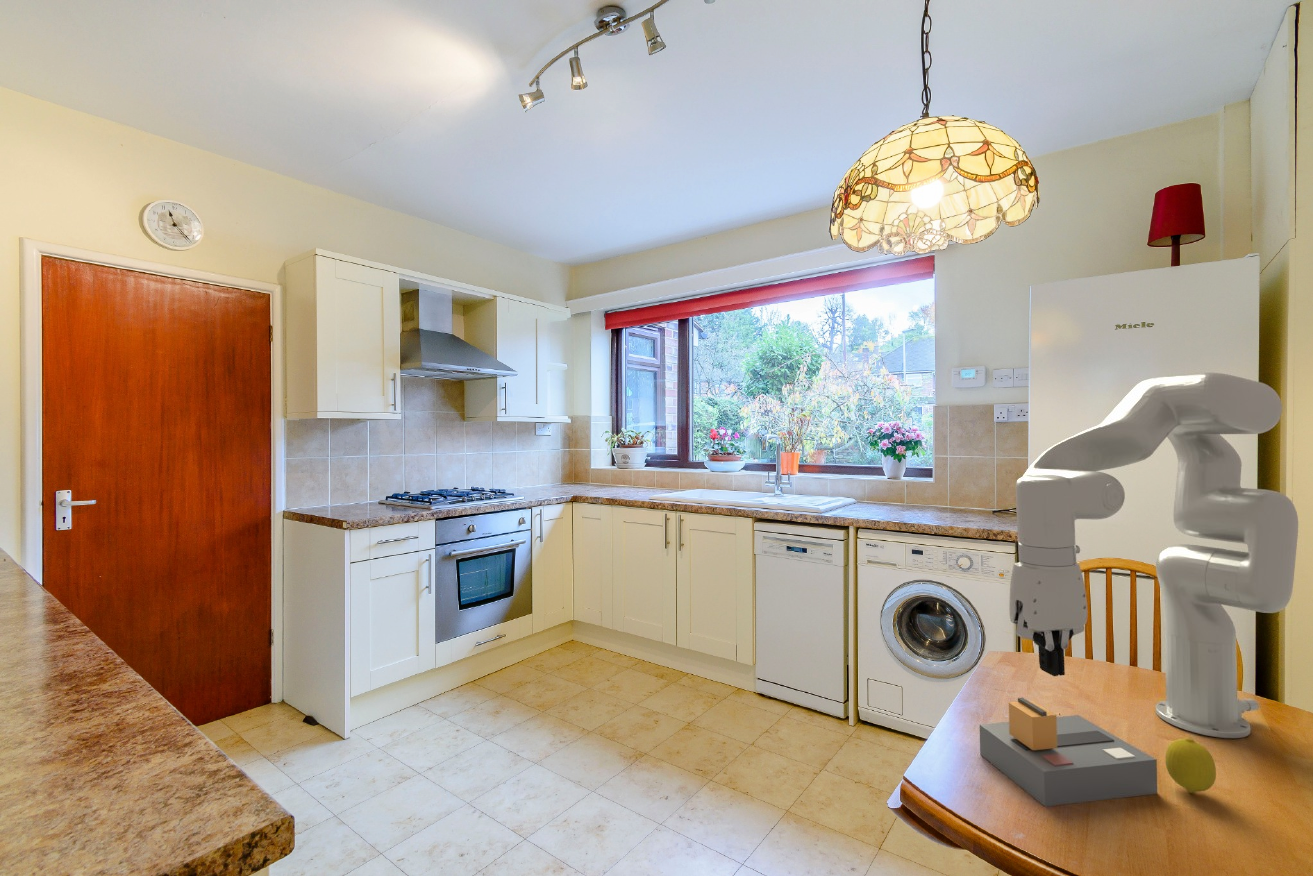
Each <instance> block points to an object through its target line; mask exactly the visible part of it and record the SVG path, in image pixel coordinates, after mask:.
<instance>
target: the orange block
mask: <svg viewBox="0 0 1313 876" xmlns="http://www.w3.org/2000/svg"><path fill="white" fill-rule="evenodd" d="M1057 717H1058V716H1057V714H1056V713H1054V712H1053V711H1051V710H1048V709H1047V708H1045V707H1044V706H1042V705H1040V704H1039V703H1037V702H1036V701H1034V700H1031V699H1030V700H1027V699H1026V698H1025V697H1022V696H1021V697H1017V701H1011V702H1008V720H1009V721H1008V722H1009V734H1010V735H1012V736H1013V737H1015V738H1016V739H1017V740H1019V741H1020V742H1022V743H1023V744H1025V745H1026V746H1027V747H1029V748H1030V749H1032V750H1041V749H1051V748H1057Z"/></svg>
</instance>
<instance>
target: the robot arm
mask: <svg viewBox="0 0 1313 876" xmlns="http://www.w3.org/2000/svg"><path fill="white" fill-rule="evenodd" d="M1282 413H1283V405H1282V401H1281V397H1280V396H1279V395H1278V393H1277V392H1276V390H1274V389H1273V387H1271V386H1269V384H1266V383H1264V382H1261V381H1256V380H1251V379H1249V378H1248V379H1247V378H1243V377H1239V376H1236V375H1231V374H1225V373H1219V372H1201V373H1198V372H1197V373H1189V374H1175V375H1163V376H1156V377H1151V378H1148V379H1144V380H1142V381H1140V382H1138V383H1137V384H1136V385H1135V386H1133V388H1132V389H1131V390H1130V391H1129V392H1128V393H1127V394H1126V395H1125V396H1124V398H1123V399H1121V401H1120V402H1119V403H1118V404H1117V405H1116V406H1115V407H1114V409H1112V411H1111V412H1109V414H1108V415H1107V416H1106V417H1105V418H1104V419H1103V420H1102V421H1101V423H1099V424H1098V425H1095V426H1093V427H1091V428H1089V429H1088V428H1087V429H1086V430H1084V431H1081V432H1079V433H1077V434H1075V435H1073V436H1070V437H1069V438H1066V439H1064V440H1062V441H1060V442H1058V443H1056V444H1053V446H1051V447H1049V448H1048V449H1047V450H1045V451H1044V452H1042V453H1041V454H1040V455H1039V456H1038V457H1037V458H1036V459H1035V461H1034V462H1033V463H1032V464H1031V465H1030V466H1029V467H1028V469H1026V471H1025V473H1023V475H1022V477H1020V478H1018V479H1017V481H1016V483H1015V506H1016V511H1015V512H1016V525H1017V526H1016V527H1017V528H1016V530H1017V531H1016V532H1017V546H1018V547H1017V549H1018V551H1017V553H1018V562H1014V563H1013V568H1012V570H1011V578H1010V585H1009V600H1008V601H1009V604H1008V605H1009V619H1010V622H1011V623H1012V624H1015V625H1016V630H1015V634H1016V636H1018V637H1020V638H1021V639H1024V640H1031V641H1033V643H1034V644H1035V646H1036V645H1037V647H1038V662H1039V669H1040V670H1041V671H1043V672H1045V673H1046V674H1049V675H1051V676H1052V677H1059V676H1061V677H1062V676H1065V674H1066V672H1065V665H1066V664H1065V650H1067V649H1068V647H1069V642H1070V640H1071V639H1072V637H1073V636H1076V635H1078V634H1081V633H1083V632H1085V625H1086V624H1087V621H1088V602H1087V592H1086V587H1085V581H1084V578H1083V577H1084V576H1083V572H1082V569H1081V567H1080V564H1079V563H1078V562H1077V555H1079V554H1080V552H1081V548H1080V546H1079V545H1077V544H1076V525H1075V523H1076V520H1094V521H1095V520H1096V521H1098V520H1104V519H1108V518H1110V517H1112V516H1114V515H1116V514H1117V513H1118V512H1119V511H1120V510H1121V508H1122V507H1123V506H1124V503H1125V499H1126V497H1125V496H1126V495H1125V494H1126V493H1125V489H1124V486H1123V485H1122V483H1121V482H1120V481H1119V480H1118V479H1117V478H1116V477H1115V476H1113V475H1112V474H1108V473H1105V472H1102V471H1105V470H1111V469H1115V468H1116V469H1117V468H1121V467H1124V466H1125V467H1126V466H1129V465H1132V464H1136V463H1140V462H1142V461H1145V460H1146V459H1148V458H1150V457H1151V456H1152V455H1153V454H1154V453H1155V451H1156V450H1157V449H1158V447H1160V445H1161V444H1162V443H1163V442H1164V441H1165V440H1166V439H1168V440H1169V442H1170V444H1171V445H1172V447H1173V449H1174V452H1175V454H1176V457H1177V473H1176V474H1177V475H1176V483H1175V493H1174V501H1173V512H1172V513H1173V514H1172V515H1173V522H1174V523H1173V524H1174V526H1175V529H1177V530H1178V531H1179V532H1180V533H1182V534H1183V535H1187V536H1190V537H1194V538H1200V539H1207V540H1213V541H1220V542H1228V543H1235V544H1243V545H1244V544H1245V545H1247V548H1248V551H1247V552H1246V551H1240V550H1232V549H1227V548H1219V547H1214V546H1213V547H1212V546H1204V545H1198V544H1175V545H1171V546H1168V547H1166V548H1165V549H1163V550H1161V552H1160V553H1159V554H1158V556H1157V559H1156V562H1155V563H1156V564H1155V567H1156V568H1155V569H1156V570H1155V571H1156V577H1157V580H1158V585H1159V588H1160V592H1161V597H1162V602H1163V603H1162V604H1163V616H1164V652H1165V654H1164V655H1165V656H1164V657H1165V658H1164V659H1165V697H1166V698H1165V700H1161V701H1159V702H1157V703H1155V713H1156V715H1157V716H1159V718H1160V719H1162V720H1163V721H1165V722H1166V723H1169V724H1171V725H1172V726H1175V727H1177V728H1180V729H1183V730H1185V731H1188V732H1191V733H1196V734H1199V735H1203V736H1209V737H1213V738H1221V739H1222V738H1223V739H1240V738H1241V739H1242V738H1245V737H1247V736H1249V735H1250V734H1251V725H1250V723H1249V722H1248V721H1247V720H1246V719H1245V718H1243V716H1242V715H1243V714H1244V713H1245V712H1250V711H1251V712H1252V711H1259V709H1260V705H1259V702H1257V700H1256V699H1254V698H1242V699H1238V670H1237V669H1238V667H1237V666H1238V665H1237V664H1238V663H1237V632H1236V627H1235V623H1234V621H1233V620H1232V618H1231V616H1230V615H1229V613H1228V611H1226V609H1225V608H1224V606H1228V607H1233V608H1238V609H1243V610H1248V611H1253V612H1258V613H1265V614H1266V613H1267V614H1274V613H1279V612H1281V611H1282V610H1284V609H1285V608H1286V607H1287V606H1288V604H1289V602H1290V601H1291V597H1292V594H1293V588H1294V581H1295V568H1296V558H1297V549H1298V548H1297V547H1298V537H1299V517H1298V512H1297V509H1296V507H1295V504H1294V503H1293V501H1292V500H1291V499H1290V498H1289V497H1288V496H1287V495H1285V494H1283V493H1281V492H1279V491H1275V490H1271V489H1270V490H1269V489H1263V488H1262V489H1261V488H1248V487H1245V488H1243V487H1241V480H1242V479H1241V478H1242V477H1241V476H1242V466H1243V465H1242V464H1243V463H1242V459H1241V457H1240V455H1239V453H1238V452H1237V450H1236V449H1235V447H1234V446H1233V445H1231V443H1230V442H1228V440H1226V439H1225V438H1224V437H1223V436H1222V435H1256V434H1257V435H1259V434H1263V433H1266V432H1268V431H1271V429H1273V428H1274V427H1275V426H1277V424H1278V423H1279V421H1280V420H1281V417H1282Z"/></svg>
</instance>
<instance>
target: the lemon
mask: <svg viewBox="0 0 1313 876" xmlns="http://www.w3.org/2000/svg"><path fill="white" fill-rule="evenodd" d="M1164 759H1165V762H1164V763H1165V767H1166V770H1167V772H1168V774H1169V776H1170V777H1171V778H1172V780H1173V781H1174V782H1175V783H1176V784H1178V785H1179V786H1180V787H1182V788H1184V790H1186V791H1187V793H1190V794H1195V793H1198V792H1205V791H1207V790H1209V789H1210V788H1211V787H1213V785H1215V781H1216V779H1217V770H1216V765H1215V764H1216V763H1215V761H1214V758H1213V756H1212V754H1211V753H1210V751H1209V750H1208V749H1207V748H1206V747H1205V746H1204V745H1202V744H1201V743H1200V742H1198V741H1196V740H1194V739H1193V738H1192V737H1186V738H1177V739H1174V740H1173V741H1171V742H1170V743H1169V745H1168V746H1167V748H1166V751H1165V757H1164Z"/></svg>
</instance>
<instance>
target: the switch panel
mask: <svg viewBox="0 0 1313 876" xmlns="http://www.w3.org/2000/svg"><path fill="white" fill-rule="evenodd" d="M1056 717H1057V748H1051V749H1041V750H1032V749H1030V748H1029V747H1027V746H1026V745H1025V744H1023V743H1022V742H1020V741H1019V740H1017V739H1016V738H1015V737H1013V736H1012V735H1010V734H1009V721H1004V722H994V723H993V722H991V723H982V724H981V723H980V724H979V746H980V747H979V753H980V754H979V755H980V756H981V757H983V758H984V759H985V760H986V761H988V763H991V764H992V765H993V766H994V768H996V769H998V771H1000V772H1002V774H1004V775H1005V776H1006V777H1007V778H1009V779H1010V780H1011V781H1013V782H1014V783H1015V784H1016V785H1017V786H1019V787H1020V788H1021V789H1023V791H1025V792H1026V793H1027V794H1028V795H1030V796H1031V797H1033V798H1034V799H1035V800H1036V801H1038V803H1039V804H1041V805H1043V806H1044V807H1053V806H1062V805H1069V804H1079V803H1087V802H1094V801H1104V800H1112V799H1114V800H1115V799H1121V798H1129V797H1131V798H1132V797H1138V796H1146V795H1155V794H1156V795H1157V794H1158V767H1157V766H1158V764H1157V763H1158V761H1157V759H1156V758H1155V757H1153V756H1152V755H1149V754H1148V753H1146V752H1145V751H1142V750H1140V749H1139V748H1137V747H1136V746H1134V745H1132V744H1130V743H1128V742H1127V741H1126V740H1123V739H1122V738H1120V737H1119V736H1116V735H1115V734H1112V733H1111V732H1109V731H1107V730H1105V729H1103V728H1102V727H1100V726H1098V725H1096V724H1095V723H1093V722H1091V721H1090V720H1087V719H1086V718H1084V717H1082V716H1081V715H1079V714H1074V715H1073V714H1072V715H1064V716H1056Z"/></svg>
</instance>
